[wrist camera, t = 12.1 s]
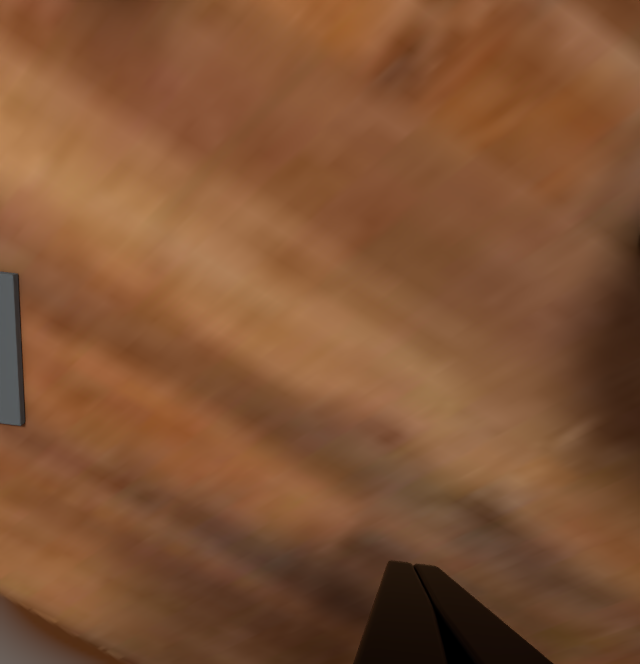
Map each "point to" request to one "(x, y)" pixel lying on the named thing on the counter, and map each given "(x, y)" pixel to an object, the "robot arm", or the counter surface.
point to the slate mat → (10, 352)
